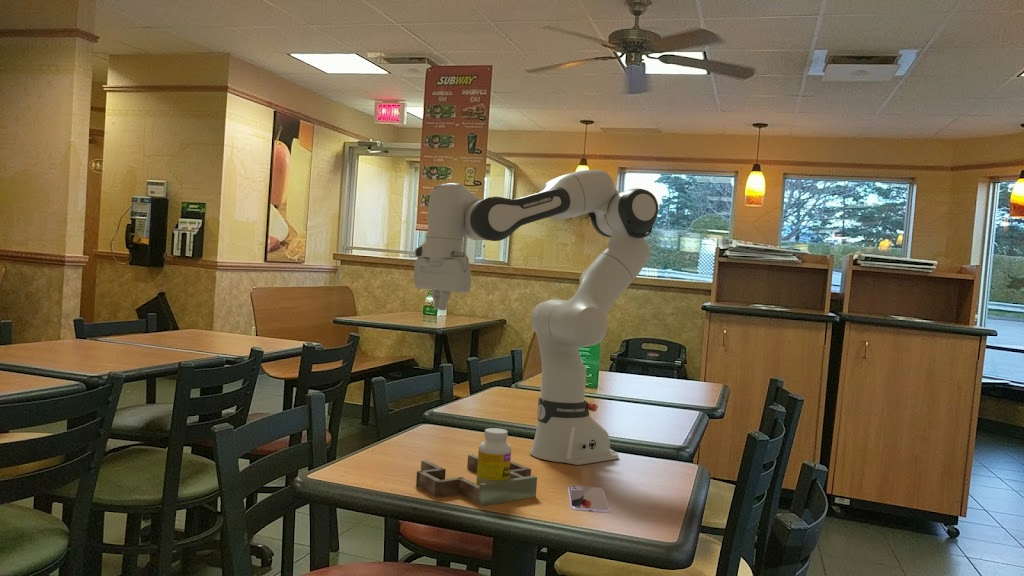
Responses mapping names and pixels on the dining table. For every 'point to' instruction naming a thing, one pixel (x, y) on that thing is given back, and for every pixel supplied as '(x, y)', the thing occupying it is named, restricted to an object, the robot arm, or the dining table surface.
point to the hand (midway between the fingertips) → (439, 309)
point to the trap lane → (482, 494)
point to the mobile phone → (587, 499)
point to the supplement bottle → (494, 457)
